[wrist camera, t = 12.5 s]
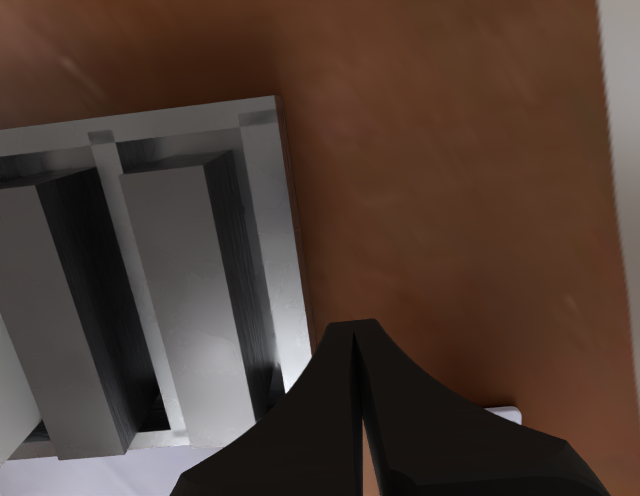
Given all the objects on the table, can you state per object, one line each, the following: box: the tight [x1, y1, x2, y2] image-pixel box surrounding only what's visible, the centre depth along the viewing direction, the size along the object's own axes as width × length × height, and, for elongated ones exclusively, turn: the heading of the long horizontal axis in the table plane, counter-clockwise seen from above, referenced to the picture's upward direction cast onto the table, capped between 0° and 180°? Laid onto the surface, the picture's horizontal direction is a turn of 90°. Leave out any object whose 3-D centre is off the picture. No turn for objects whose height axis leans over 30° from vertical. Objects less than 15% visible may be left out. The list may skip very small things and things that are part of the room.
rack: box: [0, 95, 317, 460], centre depth 20 cm, size 16×20×6 cm
